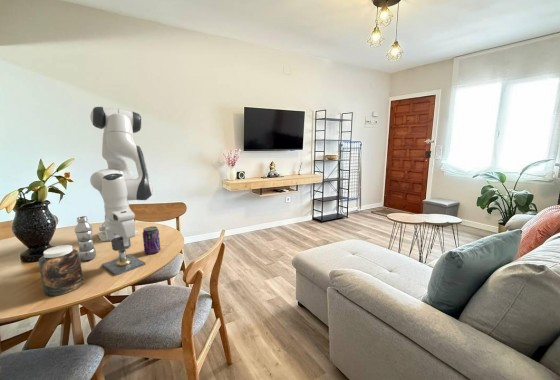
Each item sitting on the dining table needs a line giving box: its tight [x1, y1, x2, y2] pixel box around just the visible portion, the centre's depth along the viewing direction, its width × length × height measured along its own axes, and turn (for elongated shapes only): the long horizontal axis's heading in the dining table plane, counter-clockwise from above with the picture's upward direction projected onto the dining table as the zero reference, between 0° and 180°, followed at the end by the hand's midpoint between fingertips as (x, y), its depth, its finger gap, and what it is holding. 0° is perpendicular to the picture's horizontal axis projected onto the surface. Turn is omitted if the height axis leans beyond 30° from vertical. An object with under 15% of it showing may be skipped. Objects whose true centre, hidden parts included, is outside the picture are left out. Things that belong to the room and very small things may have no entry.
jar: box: [38, 244, 84, 297], centre depth 98 cm, size 12×12×15 cm
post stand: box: [101, 249, 146, 276], centre depth 115 cm, size 14×12×7 cm
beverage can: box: [142, 225, 161, 255], centre depth 129 cm, size 7×7×12 cm
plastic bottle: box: [74, 215, 97, 262], centre depth 120 cm, size 6×7×20 cm
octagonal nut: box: [110, 236, 132, 252], centre depth 114 cm, size 6×6×4 cm
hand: (121, 243), depth 114 cm, fingers closed on octagonal nut, 6 cm apart
